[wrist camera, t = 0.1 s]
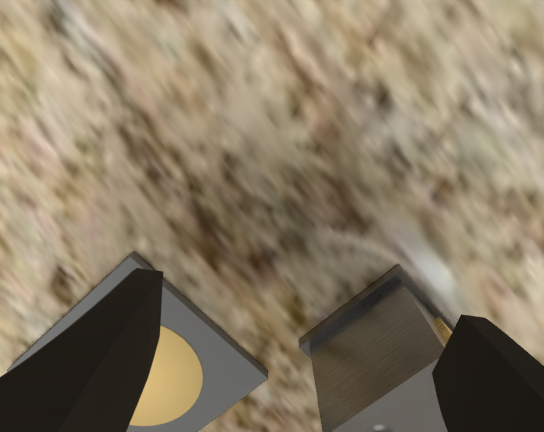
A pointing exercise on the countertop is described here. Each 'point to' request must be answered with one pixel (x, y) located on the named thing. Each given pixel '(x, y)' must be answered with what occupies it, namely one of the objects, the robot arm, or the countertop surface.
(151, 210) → the countertop surface
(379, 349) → the unit
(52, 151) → the countertop surface
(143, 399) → the mat
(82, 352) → the robot arm
